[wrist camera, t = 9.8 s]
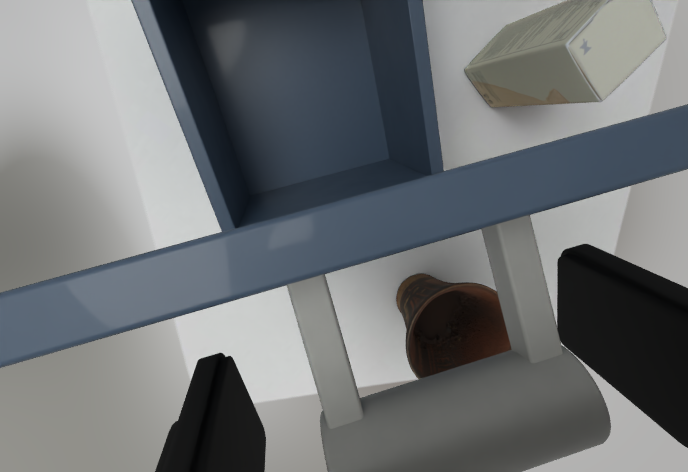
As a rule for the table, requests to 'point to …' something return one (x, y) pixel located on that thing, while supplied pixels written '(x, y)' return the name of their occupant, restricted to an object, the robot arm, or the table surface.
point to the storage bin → (296, 98)
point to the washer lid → (373, 243)
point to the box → (567, 53)
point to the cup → (449, 324)
